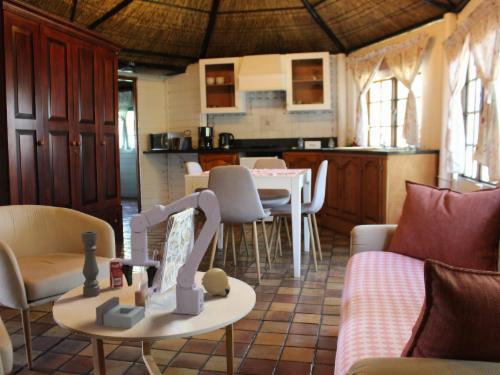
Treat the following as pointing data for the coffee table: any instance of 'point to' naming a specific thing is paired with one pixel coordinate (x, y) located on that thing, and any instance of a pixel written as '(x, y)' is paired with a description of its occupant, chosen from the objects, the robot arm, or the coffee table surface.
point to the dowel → (140, 298)
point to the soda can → (115, 274)
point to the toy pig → (216, 282)
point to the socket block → (124, 316)
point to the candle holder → (90, 265)
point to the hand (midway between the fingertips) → (140, 286)
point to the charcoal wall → (105, 309)
